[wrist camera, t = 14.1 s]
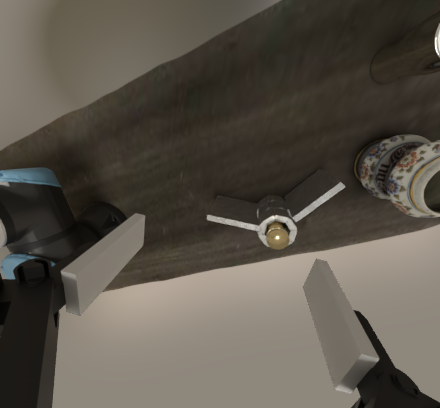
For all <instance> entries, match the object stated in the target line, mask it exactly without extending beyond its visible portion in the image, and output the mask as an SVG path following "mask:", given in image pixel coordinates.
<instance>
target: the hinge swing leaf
mask: <svg viewBox="0 0 440 408" xmlns="http://www.w3.org/2000/svg"><path fill="white" fill-rule="evenodd" d="M343 188H345V186H344V185H343V184H342V183H341V182H340V181H339V180H337V179H336V178H334V177H333V176H331V175H330V174H328V173H327V172H325V171H324V170H322V169H321V168H319V169H318V170H317V171H316V172H314V173H313V174H312V175H311V176H309V177H308V178H307V179H306V180H304V181H303V182H302V183H301V184H299V185H298V186H297V187H296V188H294V189H293V190H292V191H291V192H289V193H288V194H287V195H285V196H284V199H285V201H286V203H285V204H284V203H283V202H282V203H281V201H269V202H266V203H265V204H264V205H263V206H261V207H260V208H259V210H258V217H259V218H260V215H261V213H263V212H265V211H267V210H269V209H270V208H274V207H275V208H279V209H284V210H286V211H288V212H289V214H290V215H291V217H292V218H293V219H294V220H295V221H296V222H297V221H299V220H300V219H302V218H303V217H304V216H306V215H307V214H309V213H310V212H311V211H313V210H314V209H315V208H317V207H318V206H320V205H321V204H322V203H324V202H325V201H327V200H328V199H329V198H331V197H332V196H334V195H335V194H336V193H338V192H339V191H340V190H342V189H343ZM282 225H283V228H284V230H285V228H286V223H283V222H282ZM266 230H267V231H268V226H266Z"/></svg>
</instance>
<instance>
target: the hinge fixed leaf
mask: <svg viewBox="0 0 440 408" xmlns="http://www.w3.org/2000/svg"><path fill="white" fill-rule="evenodd" d="M269 201H281V203H282V202H283V203H284V204H285V203H286V202H285V201H284V199H283V198H281V196H276V195H268V196H266V197H264V198H263V199H261V200H260V201H259V203H254V202H249V201H244V200H239V199H235V198H230V197H225V196H220V195H217V197H216V199H215V201H214V203H213V205H212V207H211V209H210V211H209V213H208V215H207V220H209V221H214V222H218V223H223V224H228V225H232V226H237V227H241V228H246V229H251V230H255V231H258V236H259V238H260V239H261V240H262V242H263V243H264V245H266V246H269V245H268V244H267V240H266V235H267V233H268V231H267V230H266V226H267V225H269V224H271V223H273V222H275V221H278V222H283V223H286V228H285V230H286V231H287V233H288V235H289V244H292V242H294V239H295V236H296V234H297V227H296V225H295V222H294V220H293V218H292V217H291V215H290V214H289V212H288V211H286V210H284V209H279V208H275V207H274V208H270V209H269V210H267V211H265V212H263V213H261V215H260V218H259V217H258V210H259V208H260V207H261V206H263V205H264V204H265V203H266V202H269ZM289 244H288V245H289ZM269 247H270V246H269Z"/></svg>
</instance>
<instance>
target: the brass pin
mask: <svg viewBox="0 0 440 408" xmlns="http://www.w3.org/2000/svg"><path fill="white" fill-rule="evenodd" d="M267 226H268V233H267V235H266V240H267V244H268V245H269V246H270V247H271V248H273V249H277V250H279V249H283V248H285V247H286V246H287V245H288V244H289V235H288V233H287V231H286V230H284V228H283V225H282V222H278V221H275V222H273V223H271V224H269V225H267Z"/></svg>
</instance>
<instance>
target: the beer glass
mask: <svg viewBox="0 0 440 408" xmlns="http://www.w3.org/2000/svg"><path fill="white" fill-rule="evenodd" d="M439 71H440V11H439V12H437V13H435V14H433V15H432V16H430V17H429V18H427V19H426V20H424V21H423V22H421V23H420V24H419V25H417V26H416V27H415V28H414V29H412V30H411V31H410V32H409V33H408V34H407V35H406V36H404V37H403V38H402V39H401V40H400V41H399V42H397V43H393V44H390V45H388V46H386V47H384V48H382V49H381V50H380V51H379V52H378V53H377V54H376V55H375V57H374V59H373V61H372V63H371V68H370V72H371V76H372V78H373V79H374V80H375V81H376V82H378V83H382V84H386V83H391V82H393V81H395V80H397V79H399V78H400V77H402V76H420V75H427V74H432V73H436V72H439Z"/></svg>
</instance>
